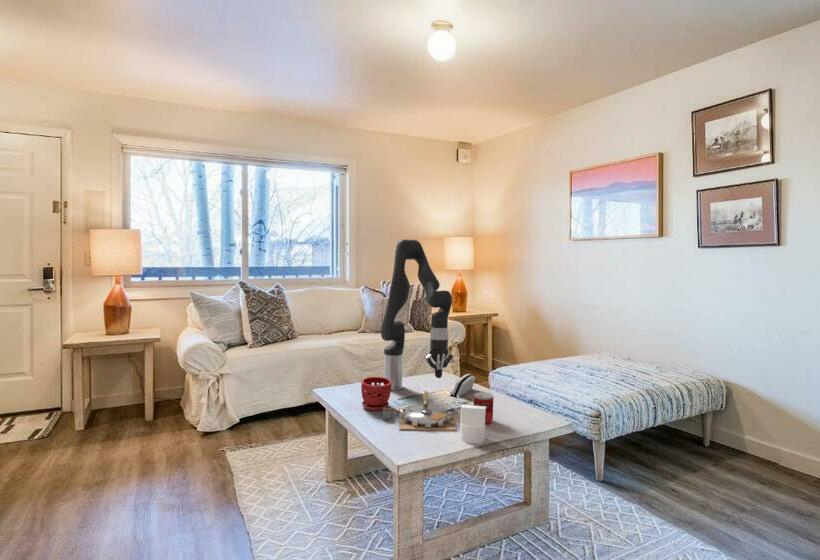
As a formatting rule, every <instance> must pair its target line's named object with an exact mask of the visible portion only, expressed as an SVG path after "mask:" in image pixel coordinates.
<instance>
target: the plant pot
mask: <svg viewBox="0 0 820 560" xmlns="http://www.w3.org/2000/svg"><path fill="white" fill-rule="evenodd" d="M391 386H392V382H391V380H389V379H387V378H384V376H383V377H381V376H369V377H365V378H363V379H362V380H361V385H360V387H361V388H360V389H361V396H362V397H361V398H362V400H363V401H362V402H361V406H362V407H363V408H364V409H365V410H367V411H372V412H373V411H379V412H380V411H383V406H390V405H389V404H390V402H389V399H390V398H391V397H390V396H391V392H392V390H391Z"/></svg>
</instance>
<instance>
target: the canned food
mask: <svg viewBox="0 0 820 560" xmlns="http://www.w3.org/2000/svg"><path fill="white" fill-rule="evenodd" d="M473 406H485V407H486V413H485V426H486V425H490V424H493V423H492V422H493V419H494V418H493V417H494V394H492V393H490V392H488V391H487V392H486V391H478V392H475V393H474V394H473Z"/></svg>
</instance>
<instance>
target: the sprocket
mask: <svg viewBox="0 0 820 560" xmlns="http://www.w3.org/2000/svg"><path fill="white" fill-rule="evenodd" d="M428 397H429V392H428V391H427V390H426V391H425V390H424V391H423V392H422V404H419V405H417V404H412V405H410V406H409V407H407V406H405V407H403V408H402V409H403V412H401V418H403V421H404V422H406V423H408V422H409V423H412V425H414V426H418V425H421V426H425V427H431V426H436V425H437V426H443V424H444V423H449V422H450V419H452V417H453V414H452V411H451V412H448V409H449V408H447V407H441V406H440V405H437V404H434V405H432V404H431V405H430V404H429V405H428V402H429V398H428Z"/></svg>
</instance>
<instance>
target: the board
mask: <svg viewBox="0 0 820 560" xmlns="http://www.w3.org/2000/svg"><path fill="white" fill-rule="evenodd" d="M400 409H401V408H399V409H398V420H399V421H398V422H399V423H398V424H399V427H398V429H399V431H420V432H421V431H422V432H423V431H426V432H427V431H435V432H436V431H440V432H443V431H445V432H447V431H449V432H450V431H451V432H457V427H456V426H457V425H456V423H455V420H454V417H453V416H452V419H450V422H449V423H444V424H443V426H437V425H436V426H431V427H425V426H421V425H418V426H414V425H412V423H409V422H408V423H406V422H404V421H403V418H401V412H400V411H399V410H400ZM448 412H451V413H452V411H448Z"/></svg>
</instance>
